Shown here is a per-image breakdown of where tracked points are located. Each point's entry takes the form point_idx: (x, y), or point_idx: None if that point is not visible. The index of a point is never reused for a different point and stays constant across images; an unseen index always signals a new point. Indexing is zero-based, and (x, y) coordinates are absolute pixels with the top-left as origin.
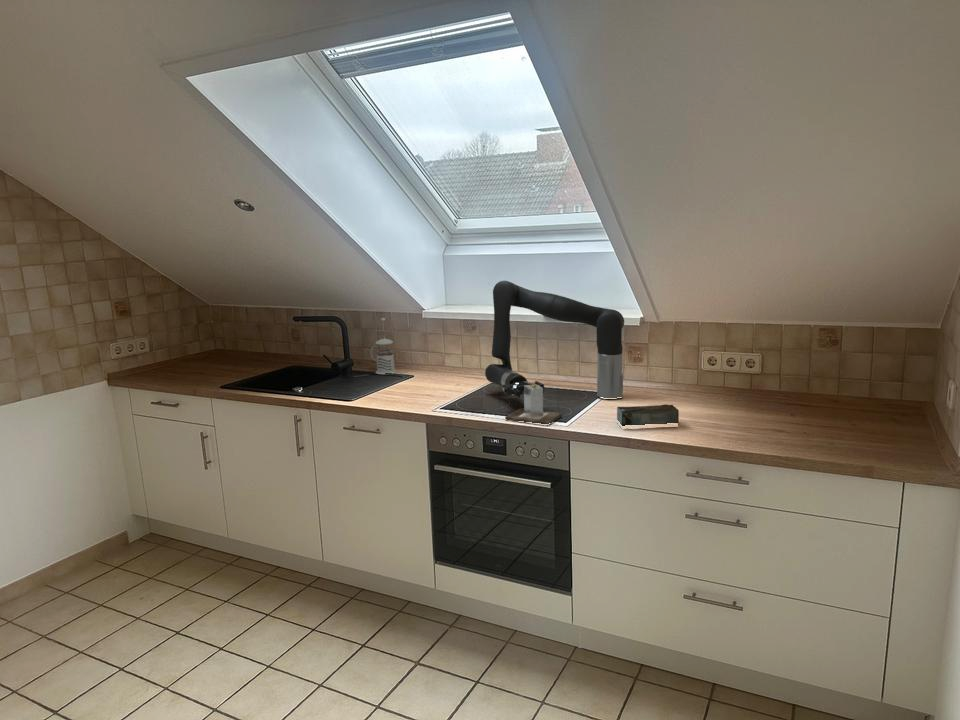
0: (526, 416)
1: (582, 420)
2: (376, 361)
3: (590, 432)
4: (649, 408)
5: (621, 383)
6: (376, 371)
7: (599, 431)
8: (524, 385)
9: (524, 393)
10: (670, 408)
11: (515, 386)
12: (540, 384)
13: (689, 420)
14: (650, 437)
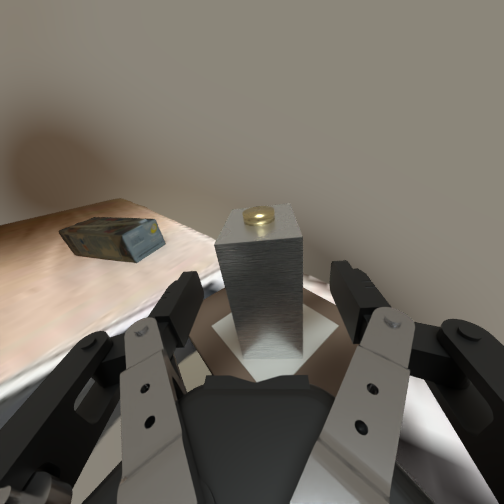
0: (304, 316)
1: (168, 285)
2: None
3: (213, 242)
4: (104, 224)
5: None
6: None
7: (198, 243)
8: (299, 235)
9: (302, 277)
10: (93, 218)
11: (374, 350)
12: (94, 353)
13: (59, 254)
14: (168, 227)
